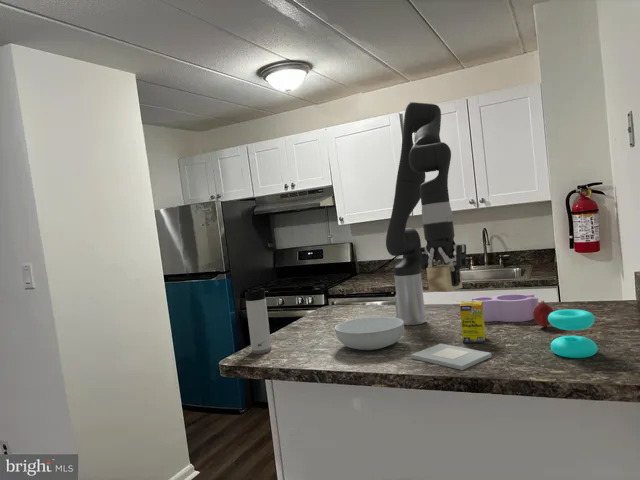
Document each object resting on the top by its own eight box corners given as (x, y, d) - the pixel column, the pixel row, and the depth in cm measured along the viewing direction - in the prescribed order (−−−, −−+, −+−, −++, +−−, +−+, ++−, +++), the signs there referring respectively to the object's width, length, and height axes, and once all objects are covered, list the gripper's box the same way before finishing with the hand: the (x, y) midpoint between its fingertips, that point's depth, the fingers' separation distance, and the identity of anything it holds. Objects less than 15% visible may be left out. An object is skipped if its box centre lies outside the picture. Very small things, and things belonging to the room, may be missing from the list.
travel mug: (264, 354, 139) (256, 290, 138) (247, 353, 142) (240, 290, 142) (276, 348, 144) (269, 286, 143) (260, 347, 148) (253, 287, 147)
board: (411, 358, 120) (411, 354, 120) (440, 347, 127) (440, 343, 127) (462, 370, 107) (461, 365, 107) (491, 356, 114) (491, 352, 114)
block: (429, 290, 117) (426, 268, 117) (443, 287, 121) (440, 264, 121) (448, 291, 113) (445, 267, 113) (462, 287, 116) (459, 264, 116)
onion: (558, 329, 132) (556, 301, 131) (537, 330, 133) (534, 303, 132) (552, 324, 137) (550, 298, 137) (532, 325, 138) (529, 299, 138)
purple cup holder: (475, 324, 148) (473, 303, 148) (473, 315, 160) (471, 296, 160) (541, 321, 143) (539, 299, 142) (534, 312, 155) (532, 292, 154)
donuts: (597, 309, 110) (590, 318, 103) (601, 349, 111) (593, 361, 103) (552, 307, 117) (542, 316, 109) (556, 345, 117) (546, 357, 110)
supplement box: (462, 343, 128) (459, 305, 127) (464, 337, 133) (460, 301, 133) (485, 343, 126) (481, 304, 125) (486, 337, 131) (482, 300, 131)
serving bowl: (420, 340, 136) (417, 318, 135) (377, 361, 121) (374, 335, 121) (366, 334, 150) (363, 313, 150) (322, 351, 135) (319, 329, 135)
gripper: (406, 225, 120) (414, 287, 120) (451, 219, 109) (460, 288, 109) (425, 222, 125) (432, 283, 125) (470, 217, 113) (478, 283, 113)
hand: (445, 285), depth 117 cm, fingers closed on block, 6 cm apart
